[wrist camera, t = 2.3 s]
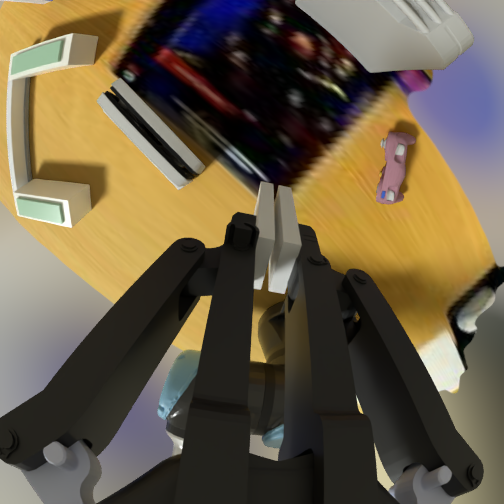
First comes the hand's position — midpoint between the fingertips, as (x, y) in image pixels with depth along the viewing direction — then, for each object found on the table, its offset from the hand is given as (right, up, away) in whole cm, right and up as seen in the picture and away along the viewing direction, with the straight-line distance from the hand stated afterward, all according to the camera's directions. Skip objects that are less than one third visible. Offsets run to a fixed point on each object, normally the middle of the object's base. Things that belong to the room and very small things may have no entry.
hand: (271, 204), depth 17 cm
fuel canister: (+9, +25, +5) cm, 27 cm away
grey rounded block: (-13, +13, +15) cm, 24 cm away
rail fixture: (-33, +17, +13) cm, 39 cm away
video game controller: (+17, +9, +15) cm, 25 cm away
